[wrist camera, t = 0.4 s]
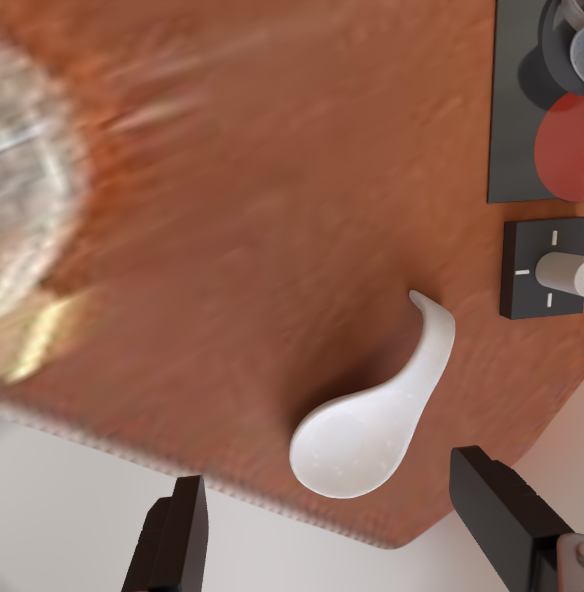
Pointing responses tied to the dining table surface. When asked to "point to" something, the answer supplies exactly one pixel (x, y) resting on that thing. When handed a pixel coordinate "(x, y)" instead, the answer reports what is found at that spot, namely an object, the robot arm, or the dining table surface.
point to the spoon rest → (372, 418)
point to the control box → (523, 260)
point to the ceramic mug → (580, 48)
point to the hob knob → (562, 272)
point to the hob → (535, 106)
